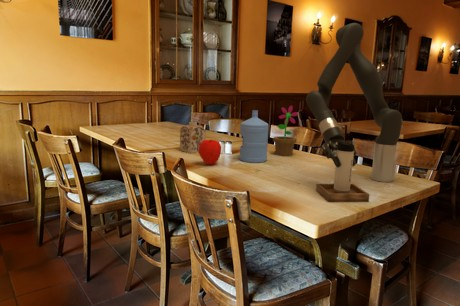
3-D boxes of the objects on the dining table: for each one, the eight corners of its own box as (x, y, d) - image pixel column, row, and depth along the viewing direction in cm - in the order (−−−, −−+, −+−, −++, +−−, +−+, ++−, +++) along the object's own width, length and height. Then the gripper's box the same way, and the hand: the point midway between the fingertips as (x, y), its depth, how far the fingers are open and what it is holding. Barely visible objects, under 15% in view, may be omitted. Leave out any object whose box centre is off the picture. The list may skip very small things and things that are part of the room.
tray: (352, 190, 150) (353, 183, 150) (368, 201, 137) (369, 194, 136) (315, 190, 149) (316, 183, 148) (328, 201, 135) (329, 194, 134)
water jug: (271, 159, 204) (274, 110, 199) (258, 164, 192) (260, 112, 186) (248, 155, 213) (250, 108, 207) (233, 160, 200) (235, 110, 195)
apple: (194, 164, 186) (194, 139, 184) (206, 160, 197) (206, 136, 194) (213, 168, 181) (214, 142, 178) (224, 163, 191) (225, 139, 189)
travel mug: (330, 188, 145) (334, 140, 141) (346, 188, 146) (351, 140, 141) (335, 193, 139) (340, 143, 135) (352, 193, 140) (357, 143, 135)
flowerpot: (298, 154, 223) (302, 105, 217) (291, 158, 211) (294, 107, 205) (276, 151, 230) (279, 104, 224) (268, 155, 217) (271, 105, 211)
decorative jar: (179, 150, 223) (179, 121, 219) (194, 148, 230) (194, 120, 227) (190, 153, 214) (190, 123, 210) (205, 151, 222) (206, 122, 218)
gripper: (320, 126, 141) (336, 161, 133) (350, 125, 147) (367, 159, 138) (311, 137, 147) (326, 172, 139) (340, 136, 153) (356, 169, 144)
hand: (346, 165), depth 139 cm, fingers open, 6 cm apart
